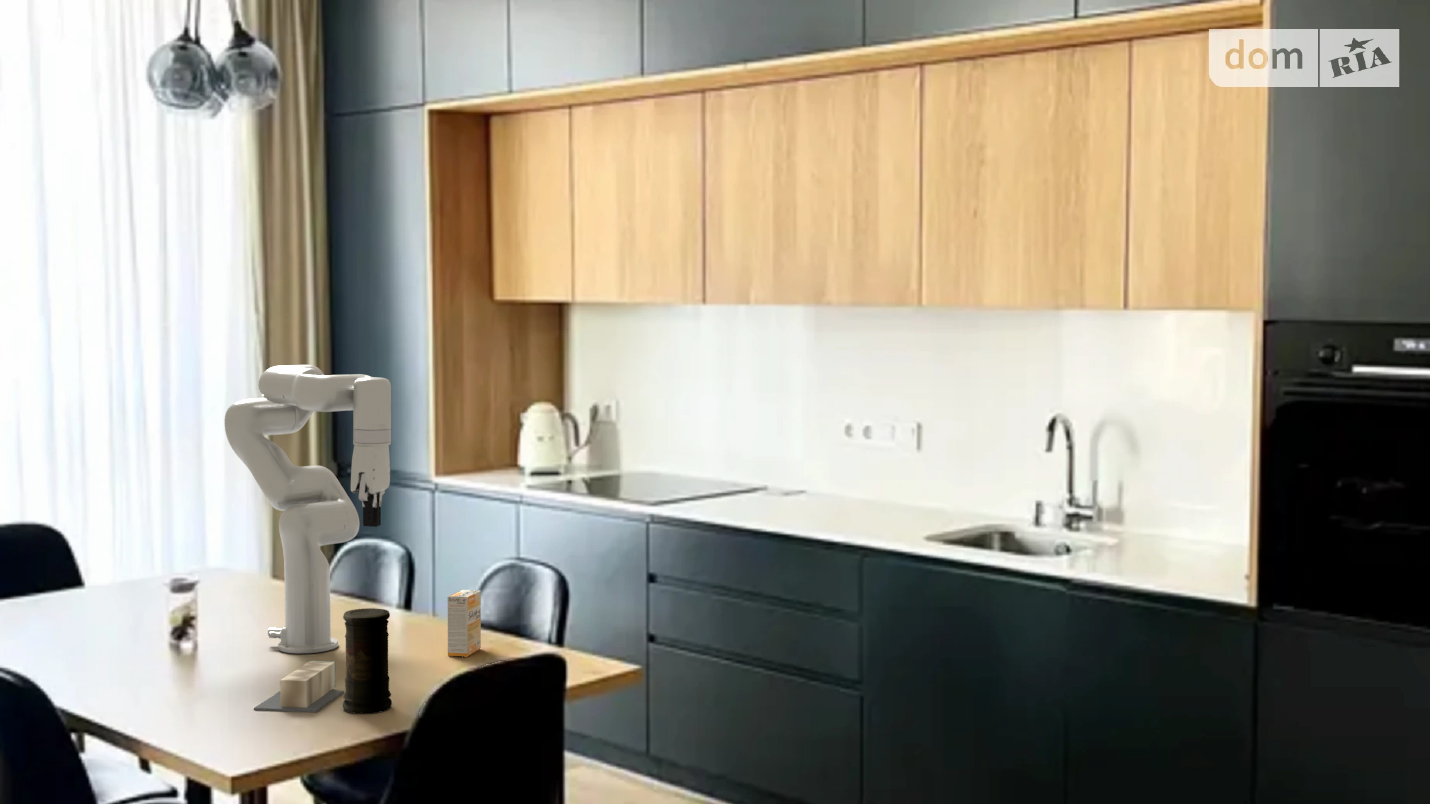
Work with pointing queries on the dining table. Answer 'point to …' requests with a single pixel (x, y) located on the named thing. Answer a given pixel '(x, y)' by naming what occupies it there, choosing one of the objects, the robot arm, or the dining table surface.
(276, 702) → the mat
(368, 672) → the container
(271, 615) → the dining table surface
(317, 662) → the beige patterned box
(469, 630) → the supplement box
